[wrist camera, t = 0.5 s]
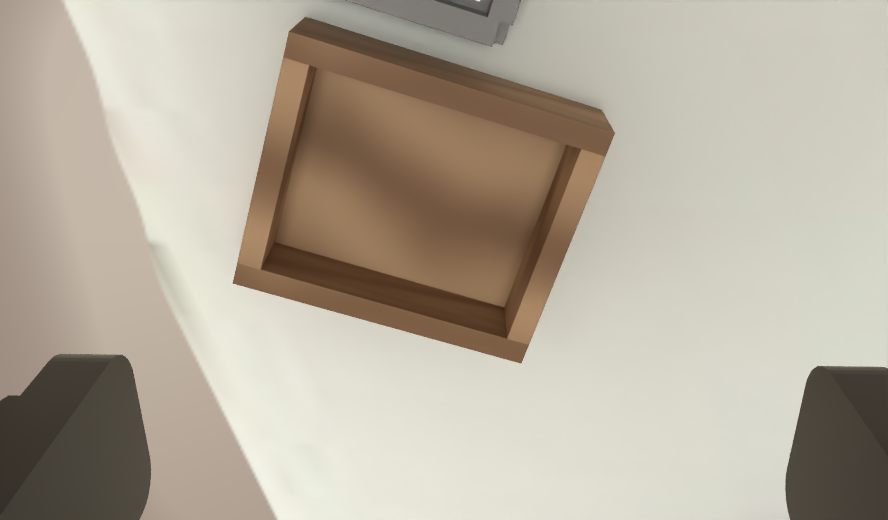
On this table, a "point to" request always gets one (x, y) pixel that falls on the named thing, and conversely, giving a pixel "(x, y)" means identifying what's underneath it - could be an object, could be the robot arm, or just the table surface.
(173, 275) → the table surface
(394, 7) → the base
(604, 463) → the table surface
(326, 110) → the open wooden tray
